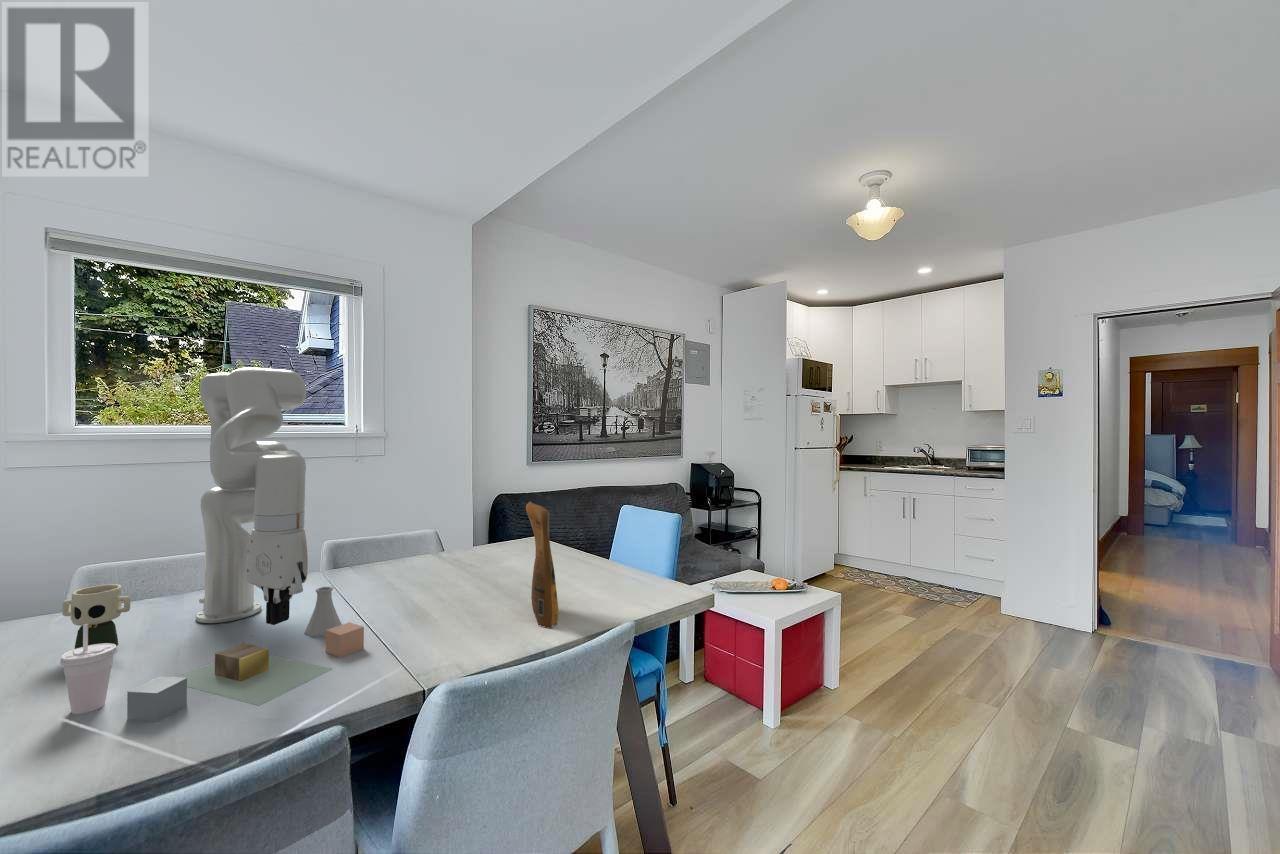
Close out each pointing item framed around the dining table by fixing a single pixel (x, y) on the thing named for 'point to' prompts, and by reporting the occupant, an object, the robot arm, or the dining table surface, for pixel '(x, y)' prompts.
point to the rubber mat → (255, 680)
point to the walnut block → (241, 662)
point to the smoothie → (88, 674)
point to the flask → (323, 614)
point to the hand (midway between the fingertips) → (277, 621)
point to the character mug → (96, 612)
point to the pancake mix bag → (543, 569)
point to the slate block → (156, 699)
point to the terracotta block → (344, 639)
